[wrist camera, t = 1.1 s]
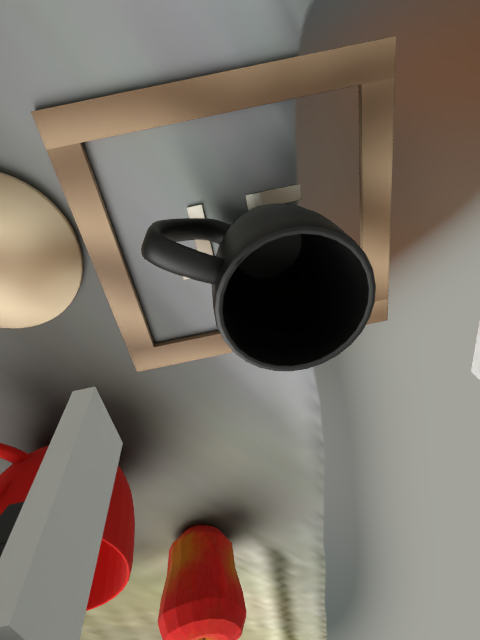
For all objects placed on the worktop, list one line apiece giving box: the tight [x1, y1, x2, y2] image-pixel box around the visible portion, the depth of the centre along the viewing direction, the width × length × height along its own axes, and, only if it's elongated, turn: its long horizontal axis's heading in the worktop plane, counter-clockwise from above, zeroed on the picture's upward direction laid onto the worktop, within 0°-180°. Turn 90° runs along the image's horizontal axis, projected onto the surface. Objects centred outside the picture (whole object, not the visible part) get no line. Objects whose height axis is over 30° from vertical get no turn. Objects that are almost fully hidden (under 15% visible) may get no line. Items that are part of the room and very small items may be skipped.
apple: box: [158, 525, 246, 640], centre depth 39 cm, size 9×8×12 cm
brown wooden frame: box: [31, 36, 396, 372], centre depth 26 cm, size 19×21×1 cm
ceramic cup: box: [0, 443, 135, 611], centre depth 31 cm, size 13×17×10 cm
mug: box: [141, 204, 376, 371], centre depth 22 cm, size 8×12×10 cm
